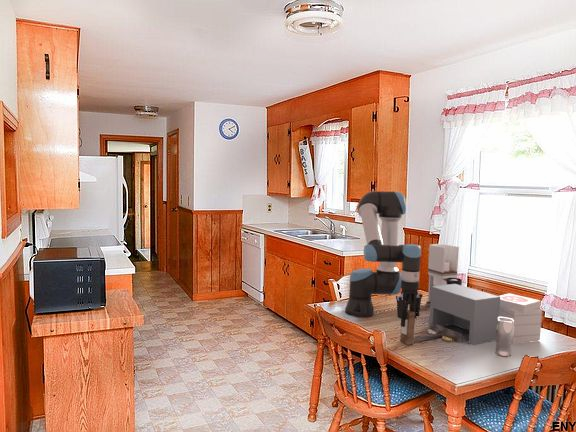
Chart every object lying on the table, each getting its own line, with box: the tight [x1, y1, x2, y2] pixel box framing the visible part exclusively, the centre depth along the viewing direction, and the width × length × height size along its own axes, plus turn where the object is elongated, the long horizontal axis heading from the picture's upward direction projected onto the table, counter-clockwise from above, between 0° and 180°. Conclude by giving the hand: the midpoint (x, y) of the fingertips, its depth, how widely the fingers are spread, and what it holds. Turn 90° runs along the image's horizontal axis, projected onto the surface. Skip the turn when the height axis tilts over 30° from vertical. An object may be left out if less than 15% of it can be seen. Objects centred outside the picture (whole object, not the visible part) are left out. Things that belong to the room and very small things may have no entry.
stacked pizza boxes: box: [498, 293, 543, 345], centre depth 217 cm, size 19×30×18 cm, turn 15°
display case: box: [425, 243, 460, 307], centre depth 258 cm, size 11×11×35 cm
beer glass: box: [494, 317, 514, 358], centre depth 190 cm, size 7×7×15 cm
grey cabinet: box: [428, 284, 500, 346], centre depth 215 cm, size 26×16×20 cm, turn 27°
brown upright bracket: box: [399, 309, 463, 346], centre depth 205 cm, size 18×25×14 cm
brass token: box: [441, 335, 455, 343], centre depth 206 cm, size 5×5×2 cm
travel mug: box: [446, 277, 463, 286], centre depth 241 cm, size 8×8×20 cm
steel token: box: [427, 328, 439, 335], centre depth 214 cm, size 5×5×2 cm
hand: (407, 332), depth 200 cm, fingers closed on brown upright bracket, 3 cm apart
